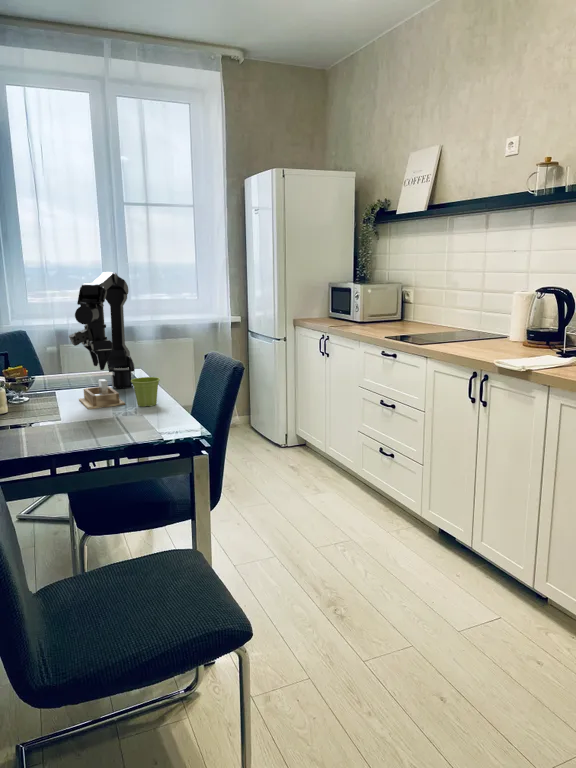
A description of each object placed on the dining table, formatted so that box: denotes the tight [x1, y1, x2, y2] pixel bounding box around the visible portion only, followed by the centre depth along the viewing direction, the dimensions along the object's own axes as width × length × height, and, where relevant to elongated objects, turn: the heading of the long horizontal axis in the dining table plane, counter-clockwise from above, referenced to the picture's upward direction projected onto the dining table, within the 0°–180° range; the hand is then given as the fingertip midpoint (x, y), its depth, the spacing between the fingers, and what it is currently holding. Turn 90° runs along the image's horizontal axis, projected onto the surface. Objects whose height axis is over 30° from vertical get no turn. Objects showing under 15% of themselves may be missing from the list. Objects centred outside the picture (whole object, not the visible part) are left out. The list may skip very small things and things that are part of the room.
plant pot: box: [131, 376, 161, 408], centre depth 195 cm, size 9×9×9 cm
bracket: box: [94, 378, 109, 396], centre depth 199 cm, size 4×4×7 cm
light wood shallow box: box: [78, 385, 126, 410], centre depth 199 cm, size 12×15×4 cm
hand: (98, 367), depth 197 cm, fingers open, 9 cm apart
